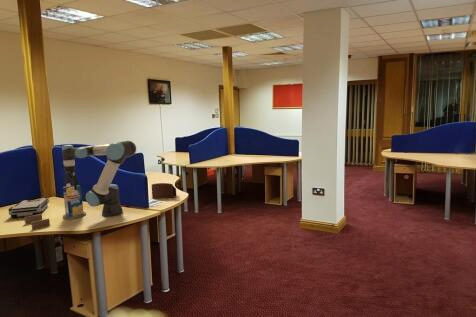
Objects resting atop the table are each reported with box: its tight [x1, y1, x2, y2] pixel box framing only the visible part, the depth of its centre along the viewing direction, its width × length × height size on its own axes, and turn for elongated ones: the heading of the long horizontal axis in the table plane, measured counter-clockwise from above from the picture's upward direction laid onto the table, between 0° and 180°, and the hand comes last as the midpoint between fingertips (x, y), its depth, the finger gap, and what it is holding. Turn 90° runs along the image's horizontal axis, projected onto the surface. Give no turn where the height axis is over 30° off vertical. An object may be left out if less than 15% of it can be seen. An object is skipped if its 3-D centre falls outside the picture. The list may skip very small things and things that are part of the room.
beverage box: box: [62, 184, 85, 217], centre depth 268 cm, size 7×11×22 cm, turn 135°
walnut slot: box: [23, 213, 51, 230], centre depth 251 cm, size 18×11×5 cm, turn 45°
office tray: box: [7, 198, 50, 219], centre depth 284 cm, size 21×32×8 cm, turn 16°
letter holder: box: [151, 182, 177, 200], centre depth 319 cm, size 10×20×14 cm, turn 84°
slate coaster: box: [62, 211, 87, 220], centre depth 270 cm, size 16×16×1 cm
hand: (72, 193), depth 267 cm, fingers open, 13 cm apart
